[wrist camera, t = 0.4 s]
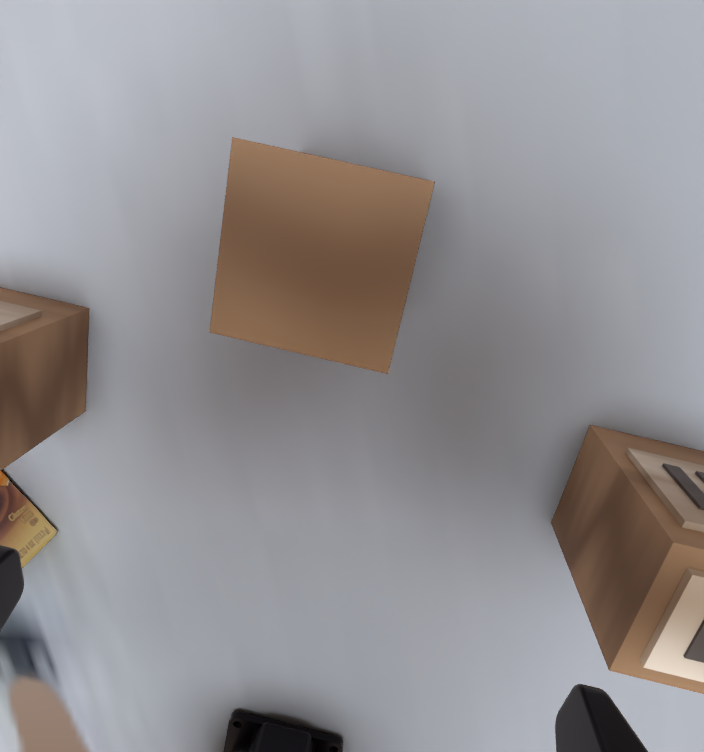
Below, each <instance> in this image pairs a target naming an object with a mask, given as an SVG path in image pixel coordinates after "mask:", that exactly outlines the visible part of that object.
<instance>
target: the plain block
mask: <svg viewBox="0 0 704 752" xmlns="http://www.w3.org/2000/svg"><path fill="white" fill-rule="evenodd" d="M434 183H435V182H433V181H429V180H424V179H420V178H415V177H410V176H406V175H401V174H397V173H392V172H388V171H383V170H379V169H374V168H370V167H365V166H360V165H356V164H351V163H347V162H342V161H338V160H333V159H329V158H324V157H320V156H315V155H310V154H306V153H301V152H297V151H292V150H288V149H283V148H279V147H274V146H270V145H265V144H261V143H256V142H251V141H247V140H242V139H238V138H233V137H232V145H231V153H230V162H229V170H228V179H227V187H226V196H225V205H224V213H223V222H222V230H221V239H220V247H219V256H218V264H217V273H216V281H215V290H214V299H213V307H212V316H211V324H210V333H214V334H219V335H223V336H227V337H232V338H236V339H240V340H244V341H249V342H253V343H257V344H262V345H266V346H270V347H274V348H279V349H283V350H287V351H292V352H296V353H300V354H304V355H309V356H313V357H317V358H322V359H326V360H330V361H335V362H339V363H343V364H347V365H352V366H356V367H360V368H365V369H369V370H373V371H377V372H382V373H386V374H388V371H389V367H390V363H391V359H392V355H393V351H394V347H395V343H396V339H397V334H398V330H399V326H400V322H401V318H402V314H403V310H404V306H405V302H406V298H407V294H408V290H409V286H410V281H411V277H412V273H413V269H414V265H415V261H416V257H417V253H418V249H419V245H420V241H421V237H422V232H423V228H424V224H425V220H426V216H427V212H428V208H429V204H430V200H431V196H432V192H433V188H434Z"/></svg>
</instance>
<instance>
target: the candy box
mask: <svg viewBox="0 0 704 752" xmlns="http://www.w3.org/2000/svg"><path fill="white" fill-rule="evenodd" d="M56 533H57V530H56V529H55V528H54V527H53V526H52V525H51V524H50V523H49V522H48V521H47V520H46V519H45V517H44V516H43V515H42V514H41V513H40V512H39V511H38V509H37V508H36V507H35V506H34V505H33V504H32V503H31V502H30V501H29V500H28V499H27V498H26V497H25V496H24V495H23V494H22V493H21V492H20V491H19V490H18V489H17V488H16V487H15V486H14V485H13V484H12V483H11V482H10V480H9V479H8V478H7V477H6V476H5V474H4V473H3V472H2V471H0V545H2V546H6V547H10V548H14V549H16V550H17V551H18V552H19V554H20V560H21V566H22V568H23V567H24V566H25V565H26V564H27V563H28V562H29V561H30V560H31V559H32V558H33V557H34V556H35V555H36V554H37V553H38V552H39V551H40V550H41V549H42V548H43V547H44V546H45V545H46V544H47V543H48V542H49V541H50V540H51V539H52V538H53V537H54V536H55V535H56Z"/></svg>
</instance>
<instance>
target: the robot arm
mask: <svg viewBox="0 0 704 752" xmlns="http://www.w3.org/2000/svg"><path fill="white" fill-rule="evenodd" d="M23 588H24V579H23V573H22V566H21V560H20V554H19V552H18V551H17V550H16V549H14V548H10V547H6V546H2V545H0V631H1V630H2V628H3V626H4V624H5V623H6V621H7V619H8V618H9V616H10V614H11V613H12V611H13V609H14V608H15V606H16V604H17V603H18V601H19V599H20V597H21V595H22V592H23ZM555 733H556V751H557V752H648V751H647V749H646V748H645V747H644V745H643V744H642V742H641V741H640V739H639V738H638V737H637V735H636V734H635V732H634V731H633V729H632V728H631V727H630V725H629V724H628V722H627V721H626V719H625V718H624V717H623V715H622V714H621V712H620V711H619V709H618V708H617V707H616V705H615V704H614V702H613V701H612V699H611V698H610V697H609V695H608V694H607V693H606V692H605V691H603V690H602V689H599V688H596V687H591V686H587V685H583V684H578V685H575V686H574V687H573V689H572V690H571V692H570V694H569V695H568V697H567V698H566V700H565V702H564V703H563V705H562V707H561V708H560V710H559V712H558V714H557V717H556V724H555ZM342 751H343V740H342V739H341V738H339V737H337V736H334V735H330V734H326V733H322V732H318V731H314V730H310V729H306V728H302V727H298V726H295V725H291V724H287V723H283V722H279V721H275V720H271V719H267V718H263V717H259V716H256V715H252V714H248V713H244V712H239V711H237V712H234V713H232V715H231V718H230V720H229V724H228V730H227V736H226V741H225V747H224V752H342Z"/></svg>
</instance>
